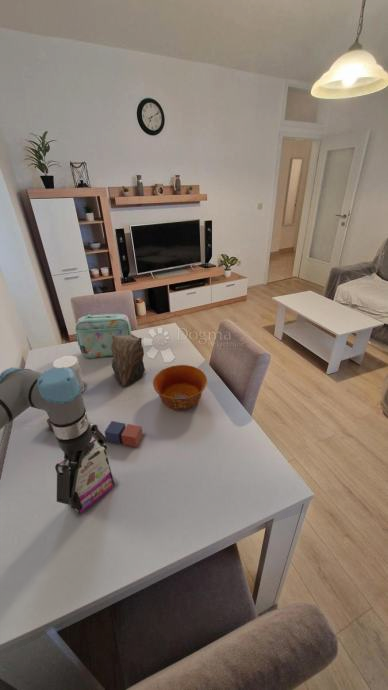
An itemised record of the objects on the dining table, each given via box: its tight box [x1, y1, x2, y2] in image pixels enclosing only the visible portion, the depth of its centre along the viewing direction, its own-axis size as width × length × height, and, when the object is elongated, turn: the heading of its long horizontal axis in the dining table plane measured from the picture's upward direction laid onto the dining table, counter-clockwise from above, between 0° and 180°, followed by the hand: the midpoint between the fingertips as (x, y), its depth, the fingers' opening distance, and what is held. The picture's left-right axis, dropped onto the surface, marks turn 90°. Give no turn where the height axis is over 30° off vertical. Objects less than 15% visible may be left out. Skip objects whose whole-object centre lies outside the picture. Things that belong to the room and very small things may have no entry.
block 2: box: [104, 420, 127, 445], centre depth 94 cm, size 5×5×5 cm
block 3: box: [121, 423, 144, 448], centre depth 92 cm, size 5×5×5 cm
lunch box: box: [74, 313, 132, 359], centre depth 138 cm, size 27×10×21 cm, turn 102°
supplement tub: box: [52, 355, 85, 393], centre depth 113 cm, size 10×10×15 cm
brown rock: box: [111, 333, 146, 388], centre depth 120 cm, size 13×13×20 cm
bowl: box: [152, 364, 208, 411], centre depth 109 cm, size 21×21×10 cm
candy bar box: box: [58, 438, 115, 515], centre depth 73 cm, size 11×5×16 cm, turn 137°
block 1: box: [46, 418, 54, 431], centre depth 98 cm, size 5×5×5 cm
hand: (90, 485), depth 75 cm, fingers closed on candy bar box, 12 cm apart
